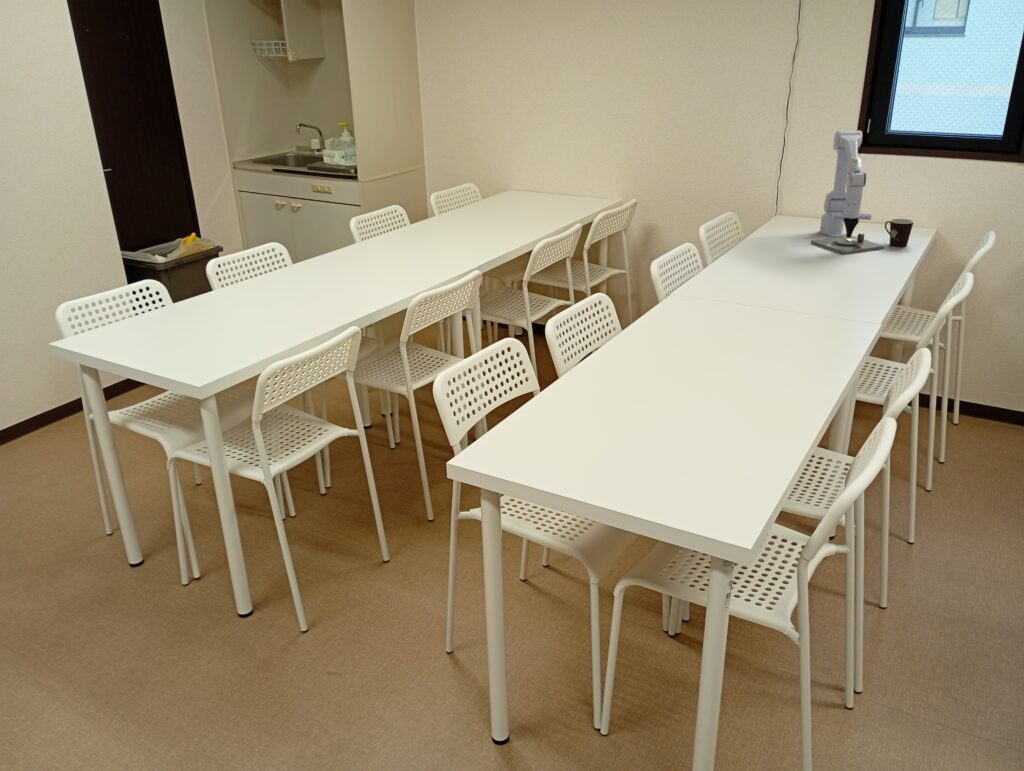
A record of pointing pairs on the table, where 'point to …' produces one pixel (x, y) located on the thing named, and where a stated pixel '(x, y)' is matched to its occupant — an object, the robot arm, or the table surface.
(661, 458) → the table surface
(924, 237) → the table surface
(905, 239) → the coffee mug
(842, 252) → the panel
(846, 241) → the dial
